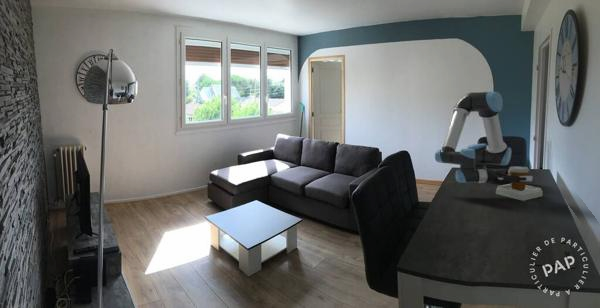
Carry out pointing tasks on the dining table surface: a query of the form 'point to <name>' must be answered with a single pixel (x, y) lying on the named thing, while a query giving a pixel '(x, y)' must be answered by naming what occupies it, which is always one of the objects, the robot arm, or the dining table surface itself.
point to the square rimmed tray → (519, 192)
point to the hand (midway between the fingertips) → (526, 175)
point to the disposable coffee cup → (518, 172)
